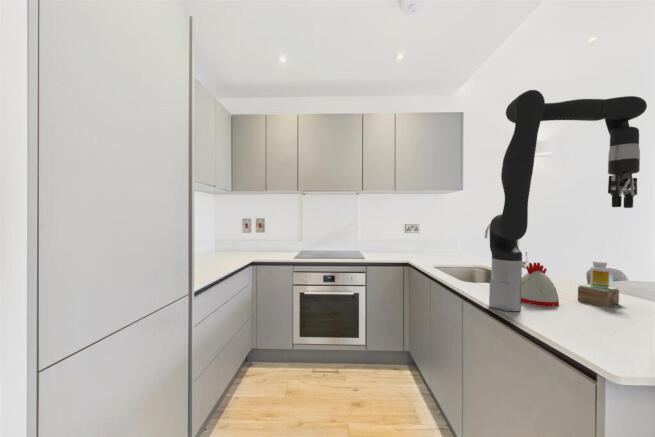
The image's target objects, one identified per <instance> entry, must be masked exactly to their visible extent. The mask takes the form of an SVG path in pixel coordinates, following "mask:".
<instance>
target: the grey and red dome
mask: <svg viewBox="0 0 655 437" xmlns="http://www.w3.org/2000/svg"><path fill="white" fill-rule="evenodd" d="M540 263H541V262H533V264H532V263H531V262H529V263H528V264H529V265H526V266H525V268H526V269H525V270H526V271H527V273H526V274H524V275H522V284H521V303H524V304H527V305H528V304H529V305H532V306H537V307H538V306H539V307H557V306H559V303H560V302H559V294H558V291H557V288H556V286H555V284H554V282H553V281H552V280H551V278H550V277H549V276H548V275H547V274H546V273H547V271H548V270H547V269H548V268H545V267H544V265H541V264H540Z"/></svg>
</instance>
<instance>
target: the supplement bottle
mask: <svg viewBox="0 0 655 437" xmlns="http://www.w3.org/2000/svg"><path fill="white" fill-rule="evenodd" d="M592 265H593V266H590V267H589V284H590V286H593V287H597V288H608V287H610V286H609V284H610V283H609V282H610V281H609V280H610V269H609V268H608V267H607V265H608V263H607V261H599V260H592Z"/></svg>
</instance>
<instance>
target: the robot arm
mask: <svg viewBox="0 0 655 437" xmlns="http://www.w3.org/2000/svg"><path fill="white" fill-rule="evenodd" d="M647 107H648V105H647V102H646V100H645V99H644V98H642V97H640V96H634V95H632V96H631V95H629V96H628V95H626V96H620V97H611V98H578V99H577V98H576V99H569V100H565V101H563V100H562V101H557V102H556V101H555V102H546V101H545V97H544V95H543V94H542V92H540V91H538V90H536V89H528V90H526V91H524V92H522V93H521V94H520V95H518V96H517V97H516V98H515V99H513V100H512V101H511V102H510V103H509V104H508V105H507V107H506V110H505V115H506V119H507V120H508V121H509V122H510V123H513V124H514V131H513V134H512V137H511V138H510V139H511V140H510V141H509V144H508V146H507V148H506V150H505V152H504V156H503V159H502V167H501V174H500V175H501V176H500V178H501V185H502V189H503V193H504V204H503V208H502V209H503V210H502V213H501V214H498V215H496V216H494V217H493V218H492V220H490V225H489V249H490V252H491V268H490V269H491V271H490V272H491V273H490V275H491V277H490V278H491V279H489V296H488V299H489V300H488V303H489V304H488V306H489V307H491V308H493V309H497V310H500V311H504V312H520V311H521V310H522V302H521V284H522V277H523V274H522V272H523V253H522V250H520V248H519V246H518V241H519V240H521V239H522V238H523V237H524V236H525V234H526V232H527V230H528V222H529V221H528V220H529V218H528V217H529V215H528V214H529V213H528V212H529V210H528V209H529V198H530V192H531V185H532V176H533V172H534V164H535V156H536V149H537V143H538V142H537V141H538V134H539V130H540V124H541V122H548V121H583V122H584V121H587V122H589V121H590V122H591V121H592V122H594V121H596V122H597V121H602V120H604V121H605V124H606V128H607V131H608V134H609V150H608V156H607V157H608V159H607V160H608V161H607V162H608V163H607V166H608V167H607V174H608V182H607V183H608V184H607V186H608V187H607V193H608V194H610V196H611V207H612V208H621V207H622V204H623V208H625V209H633V208H634V197H635V196H638V178H637V177H633V174H638V173H639V172H640V170H641V169H640V168H641V167H640V160H641V149H640V129H639V128H638V127H636V126H630V123H629V121H630V120H633V119H637V118H638V117H640V116H642V115H643V114H644V113H645V112H646V110H647ZM622 196H623V197H622ZM622 198H623V200H622ZM622 201H623V203H622Z"/></svg>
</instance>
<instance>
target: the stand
mask: <svg viewBox="0 0 655 437" xmlns="http://www.w3.org/2000/svg"><path fill="white" fill-rule="evenodd" d="M619 300H620V290H619V289H618V288H617V287H614V286H613V287H611V286H609V287H608V288H597V287H593V286H590V283H586V284H585V283H584V284H580V285H579V286H577V301H578V302H579V301H580V302H584V303H588V304H592V305H597V306H602V307H607V308H609V307H612V306H617V305H620V304H619V303H620V301H619ZM616 304H617V305H616Z"/></svg>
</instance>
